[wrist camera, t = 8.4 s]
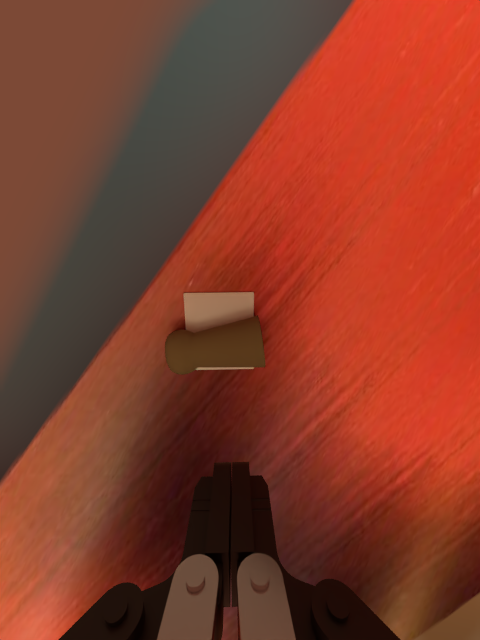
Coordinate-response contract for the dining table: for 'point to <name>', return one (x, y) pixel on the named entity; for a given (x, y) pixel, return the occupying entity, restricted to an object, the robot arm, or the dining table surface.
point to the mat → (217, 312)
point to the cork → (216, 347)
